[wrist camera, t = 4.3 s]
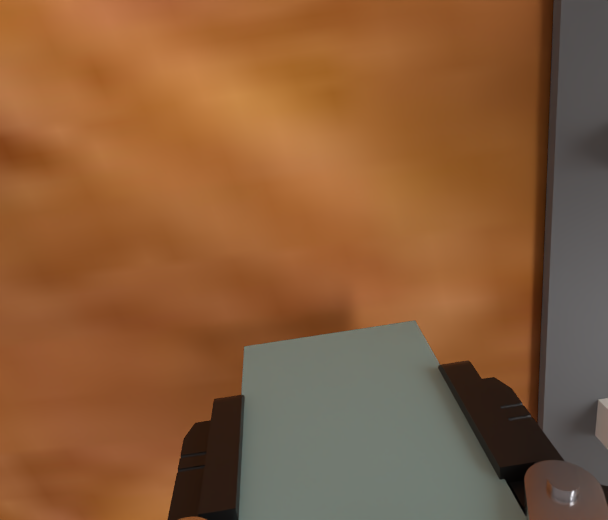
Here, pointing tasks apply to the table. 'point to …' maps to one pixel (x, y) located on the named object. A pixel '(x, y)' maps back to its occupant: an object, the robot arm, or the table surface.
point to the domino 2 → (602, 422)
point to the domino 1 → (360, 433)
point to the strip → (576, 238)
